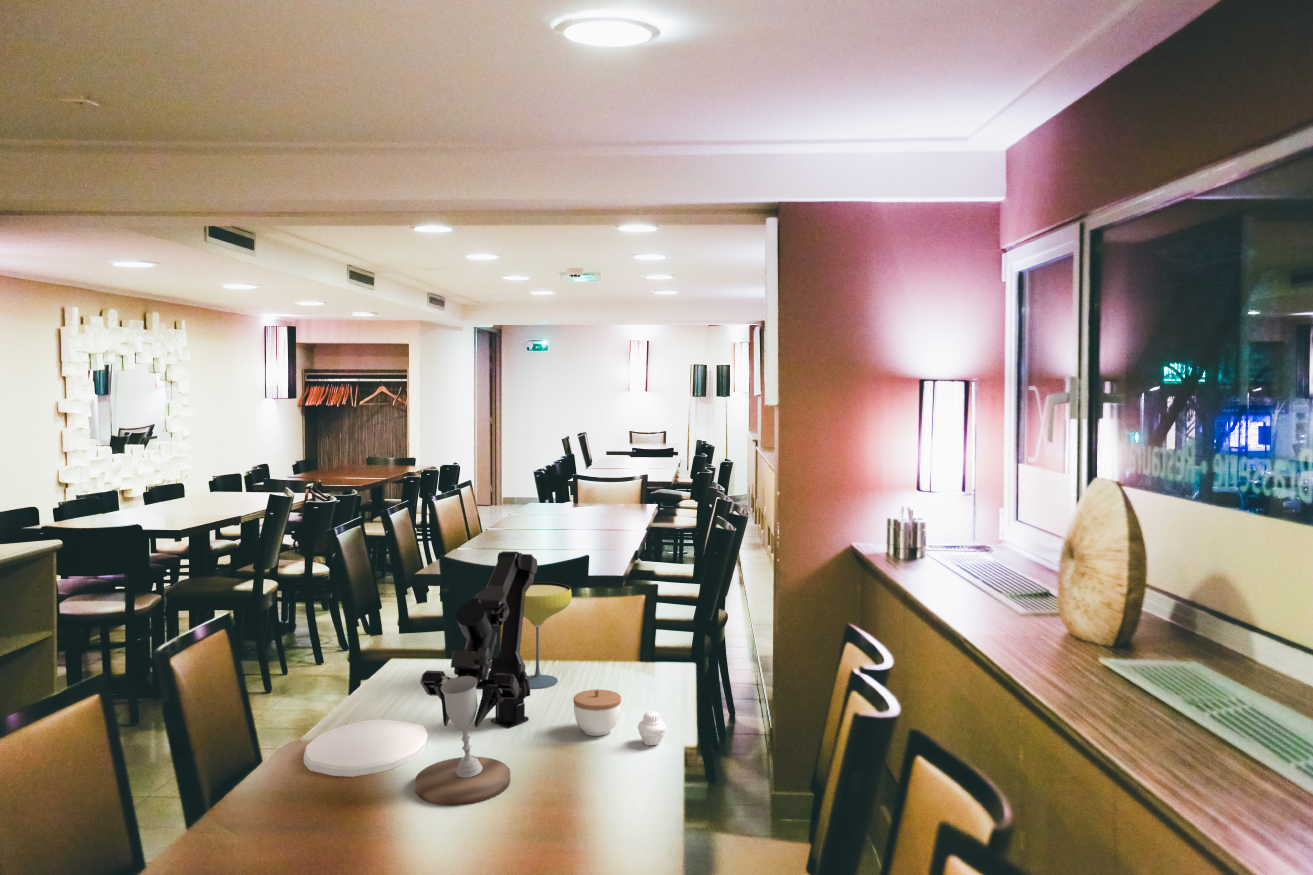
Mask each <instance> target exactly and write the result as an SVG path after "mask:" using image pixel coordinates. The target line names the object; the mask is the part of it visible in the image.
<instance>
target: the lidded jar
mask: <svg viewBox="0 0 1313 875" xmlns="http://www.w3.org/2000/svg"><path fill="white" fill-rule="evenodd" d="M572 699H573V700H572V701H573V711H574V712H573V713H574V717H575V721H576V724H577V726H578V727H579V728H580V729H581V730H582V731H583V733H584V734H585V735H587V736H592V737H602V736H605V735H609V734H610V733H611V730H613V729H614V727H616V725H617V723H618V721H619V719H620V715H621V703H622V696H621V694H619V693H618V692H616V691H613V690H608V689H600V688H599V689H598V688H596V689H588V690H584V691H580V692H577V693H576V694H575V695H574V697H573V698H572Z"/></svg>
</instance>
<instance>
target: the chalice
mask: <svg viewBox="0 0 1313 875" xmlns="http://www.w3.org/2000/svg"><path fill="white" fill-rule="evenodd" d="M452 678H453V679H450V680H448V681H447V682H445V683H444V684H443V685H442V686H441V691H442V692H443V694H444V697H445V705H446V713H447V715H448V717H449V721H450V722H451V723H452V725H453V726H454V727H455V729H456V730H457V731H458V732H461V733H462V737H461V741H462V743H463V745H462V748H461V749H462V750H463V751H464V756H462V757H463V758H462V759H461V760H460V762H459V765H458V769H457V772H456V774H457V775H458V776H459V777H463V778H468V777H473V776H475V775H477V774H479V773H480V772H481V771H482V769H483V767H482V765H481V764H480V762H479V761H478V759H477V758H476V757H477V756H475V755H472V754H471V748H472V745H471V744H470V742H469V741H470V738H471V737H470V736H469V734H468V730H470V729H471V728H472V726H473V724H474V722H475V718H476V715H477V711H478V708H479V705H478V695H477V689H476V685H477V683H478V680H477V679H476V678H475V677H472V676H460V677H458V676H457V677H452Z"/></svg>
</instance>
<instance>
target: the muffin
mask: <svg viewBox="0 0 1313 875" xmlns="http://www.w3.org/2000/svg"><path fill="white" fill-rule="evenodd" d="M637 729H638V730H637V731H638V733H639V735H640V737H641V739H642V741H643V743H644V745H646V746H649V745H656V746H657V745H660V743H661V741H662V739H663V737H664V735H665V732H666V729H667V726H666V722H664V721H663V720H662V718H661V715H660V714H659V712H657V711H652V710H651V711H647V712H646V713H645V714H644V715H643V718H642V720H641V721H640V722H639V723H638V725H637Z"/></svg>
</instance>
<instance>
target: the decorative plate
mask: <svg viewBox="0 0 1313 875" xmlns="http://www.w3.org/2000/svg"><path fill="white" fill-rule="evenodd" d="M428 737H429V734H428V732H427V729H426V728H425V726H424V725H422V724H417V723H411V722H407V721H406V722H404V721H399V720H393V719H392V720H391V719H386V718H385V719H383V718H382V719H366V720H362V721H357V722H351V723H349V724H344V725H340V726H338V727H336V728H333V729H332V728H331V729H330V730H326V731H324V732H322V733H320V734H319V735H318V736H316V737H315V738H314V739H313V740H312V741H310V742H309V743H308V744H306V746H305V749H304V753H303V764H304V766H306V768H307V769H308V770H309V771H310V772H316V773H320V774H324V775H327V776H328V775H329V776H334V777H347V778H349V777H351V778H355V777H360V776H367V775H373V774H376V773H380V772H382V773H383V772H385V771H389V770H392V769H395V768H398V767H400V766H401V765H404V764H407V763H408V762H411V761H413V760H416V758H417V757H418V756H419V755H420V754H421V753H422V752H424V751H425V749H426V747H427V743H428V740H429V738H428Z"/></svg>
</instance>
